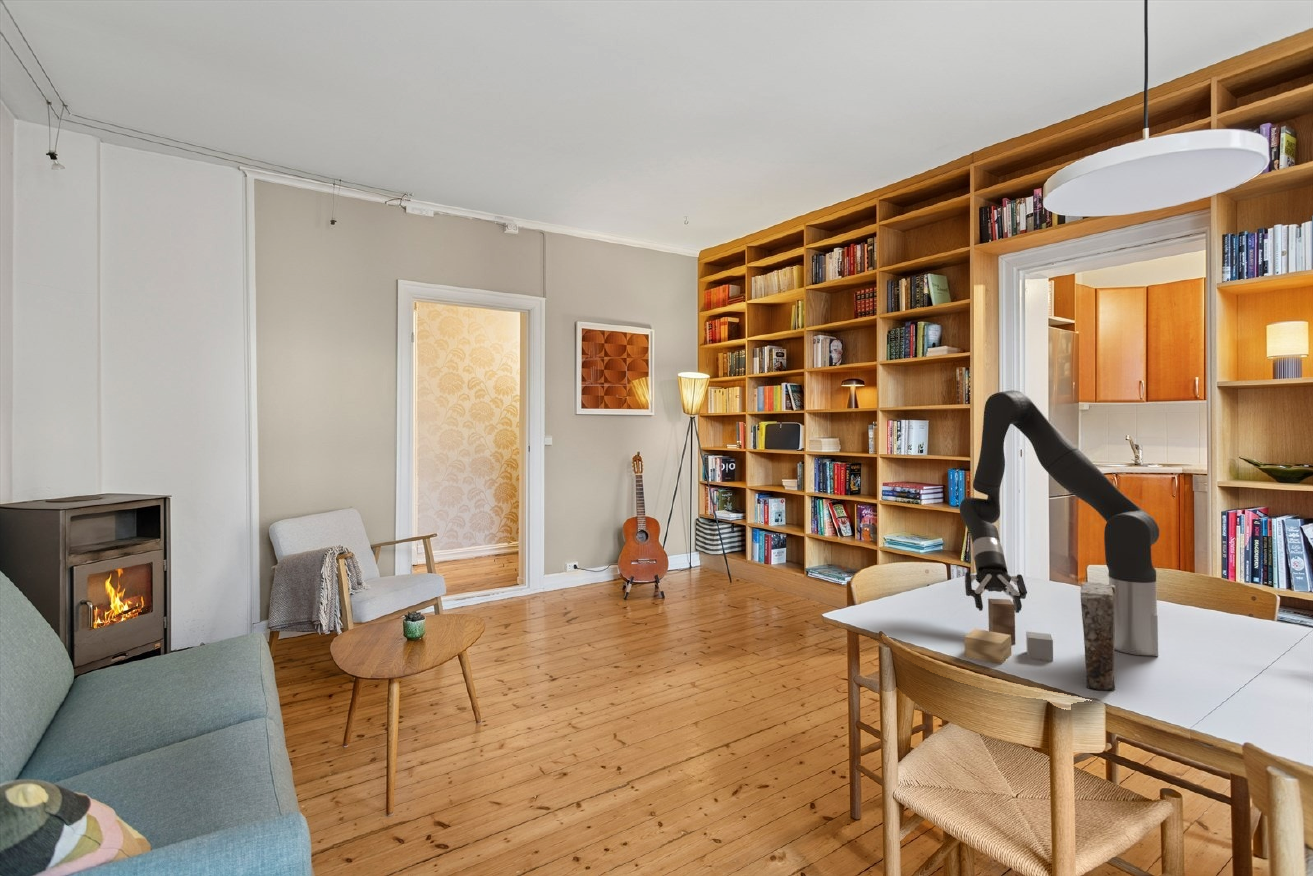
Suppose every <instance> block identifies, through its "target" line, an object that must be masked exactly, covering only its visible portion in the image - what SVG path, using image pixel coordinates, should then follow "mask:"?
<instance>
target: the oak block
mask: <svg viewBox="0 0 1313 876" xmlns="http://www.w3.org/2000/svg"><path fill="white" fill-rule="evenodd" d="M1011 656H1012V644H1011V635H1008V634H1002V633H996V632H991V631H989V630H985V629H984V630H983V629H980V628H979V629H978V628H974V629H973V630H971V631H970V632H969V633H967V634H966V635H964V657H965V658H970V659H974V660H978V659H980V661H984V662H988V663H994V664H998V665H1003V664H1004V663H1005V662H1006V661H1007V660H1008V659H1009V658H1010V657H1011ZM1006 659H1007V660H1006Z"/></svg>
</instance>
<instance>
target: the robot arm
mask: <svg viewBox="0 0 1313 876" xmlns="http://www.w3.org/2000/svg"><path fill="white" fill-rule="evenodd" d="M983 408H984V409H983V419H982V420H983V421H982V423H983V424H982V433H981V444H980V451H979V452H980V453H979V457H978V462H977V466H976V470H975V473H974V478H973V481H972V488H973V489H974V490H975V491H976V492H978V493H980V494H983V495H986V496H987V498H980V497H971V496H968V497H964V498H963V499H962V500H961V502H960V504H959V513H960V517H961V520H962V521H963V522H964V525H965V526H966V528H967V530H968V532H969V534H970V539H971V546H972V558H973V561H974V566H975V572H976V574H973V573H972V574H971V573H970V572H969V571H967V572H965V574H964V575H965V576H964V588H965V595H966V596H968V597H972V598H973V599H974V604H975V608H976V609H978V611H979V612H981V611H982V612H983V608H984V604H983V600H982V594H983V593H985V591H988V592H999V593H1001V592H1003V593H1005V595H1007V596H1009V597H1010V598H1011V599H1012V602H1013V603H1014V604H1015V614H1019V613H1020V612H1021V610H1022V607H1023V605H1022V600H1025V599H1026V597H1027V594H1028V591H1027V587H1026V584H1025V580H1024V577H1023V575H1022V574H1020V573H1019V574H1017V575H1012V576H1011V575H1010V573H1009V571H1008V566H1007V563H1006V559H1005V554H1004V550H1003V546H1002V544H1001V540H1000V534H999V531H998V528H997V526H996V525H995V523H996V522H997V521H999V518H1000V515H1001V505H1000V491H1001V485H1002V481H1003V478H1004V474H1005V468H1006V457H1005V449H1004V448H1005V446H1004V445H1005V439H1006V436H1007V434H1008V433H1007V432H1008V430H1009V428H1010V426H1011V425H1013V426H1014V427H1015V428H1017V429H1018V430H1019V432H1021V433H1022V434H1023V435H1024V436H1025V437H1026V439H1028V441H1029V442H1030V444H1031V446H1032V448H1033V449H1034V450H1033V451H1034V453H1035V455H1036V458H1037V459H1038V462H1039V463H1040V465H1041V466H1042V468H1043V469H1044V470H1045V471H1046V472H1047V473H1048V474H1049V475H1050V476H1051V478H1052V479H1054V481H1055V482H1057V484H1059V485H1060V486H1061V487H1062V488H1063V489H1065V490H1066V491H1067V492H1069V493H1070V494H1072V495H1074V496H1075V497H1077V498H1078V499H1080V500H1082V501H1083V502H1084V503H1086V504H1088V505H1089V506H1090V507H1092V508H1093V509H1094V510H1095V511H1096V512H1097V513H1098V514H1099V515H1100V516H1101V517H1102V519H1104V522H1106V524H1105V526H1104V531H1103V534H1104V537H1103V540H1104V542H1103V543H1104V555H1105V556H1104V557H1105V558H1104V559H1105V564H1106V567H1107V571H1108V584H1110V585H1114V586H1115V587H1116V599H1115V641H1114V651H1118V652H1121V653H1124V654H1125V653H1126V654H1130V655H1135V656H1153V657H1155V656H1156V657H1159V628H1158V627H1159V625H1158V624H1159V622H1158V621H1159V620H1158V617H1159V616H1158V608H1157V607H1158V600H1157V598H1158V597H1157V595H1158V594H1157V570H1156V568H1155V567H1154V566H1153V562H1152V546H1153V545H1155V544H1156V542H1158V540H1159V537H1160V528H1159V525H1158V523H1157V522H1156V520H1155V519H1154V517H1152V516H1151V515H1150V514H1149V513H1147V512H1146V511H1145V510H1144V509H1142V508H1141V507H1140V506H1138V505H1137V504H1136V503H1134V501H1132V500H1131V499H1130V498H1128V497H1127V496H1126V495H1125V494H1123V492H1121V491H1120V490H1119V489H1118V488H1117V487H1116V486H1115V485H1114V484H1113V482H1111V480H1109V479H1108V477H1107V476H1106V475H1105V474H1104V473H1103V472H1102V471H1101V470H1100V469H1099V468H1098V467H1097V466H1096V465H1095V464H1094V463H1093V462H1092V461H1091V460H1090V459H1089V458H1088V457H1087V456H1086V455H1085V454H1084V453H1083V452H1082V451H1081V450H1080V449H1079V448H1078V447H1077V446H1076V445H1074V443H1072V442H1071V441H1070V440H1069V439H1068V438H1067V437H1066V436H1065V435H1064V434H1063V433H1062V432H1061V431H1060V430H1059V429H1058V428H1057V427H1056V426H1054V425H1053V424H1052V423H1051V422H1050V421H1049V419H1047V417H1046V416H1045V415H1044V414H1043V412H1042V411H1041V410H1040V409H1039V408H1038V406H1037V405H1036V404H1035V403H1034V401H1032V399H1031V398H1030V397H1029V396H1028V395H1026V393H1024V392H1022V391H1019V390H1015V389H1014V390H1007V391H1006V390H1005V391H1000V392H996V393H993V394H991V395H990V396H989V397H988V398H987V400H986V401H985V405H984V407H983ZM974 581H976V582H977V583H978V586H977V587H976V589H973V588H972V587H973V585H972V583H974ZM1011 582H1012V583H1013V584H1014V585H1015V586H1016V587H1017V589H1015V587H1014V586H1013V584H1011ZM1021 599H1022V600H1021Z"/></svg>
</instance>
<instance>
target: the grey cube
mask: <svg viewBox="0 0 1313 876" xmlns="http://www.w3.org/2000/svg"><path fill="white" fill-rule="evenodd" d="M1025 633H1026V635H1025V636H1026V638H1025V640H1026V643H1025V644H1026V654H1027V655H1026V656H1027V659H1029V658H1031V659H1030V660H1037V659H1044V660H1043V661H1046V660H1050V661H1049V662H1054V639H1053V637H1052V634H1051V633H1045V632H1036V631H1033V632H1032V631H1028V630H1027V631H1026V632H1025Z"/></svg>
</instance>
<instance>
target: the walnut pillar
mask: <svg viewBox="0 0 1313 876" xmlns="http://www.w3.org/2000/svg"><path fill="white" fill-rule="evenodd" d="M987 601H988V602H987V603H988V604H987V605H988V611H987V612H988V613H987V614H988V631H991V632H996V633H1002V634H1008V635H1011V645H1016V613H1015V604H1014V603H1013V600H1011V599H1005V598H1004V599H1003V598H988V599H987Z"/></svg>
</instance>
